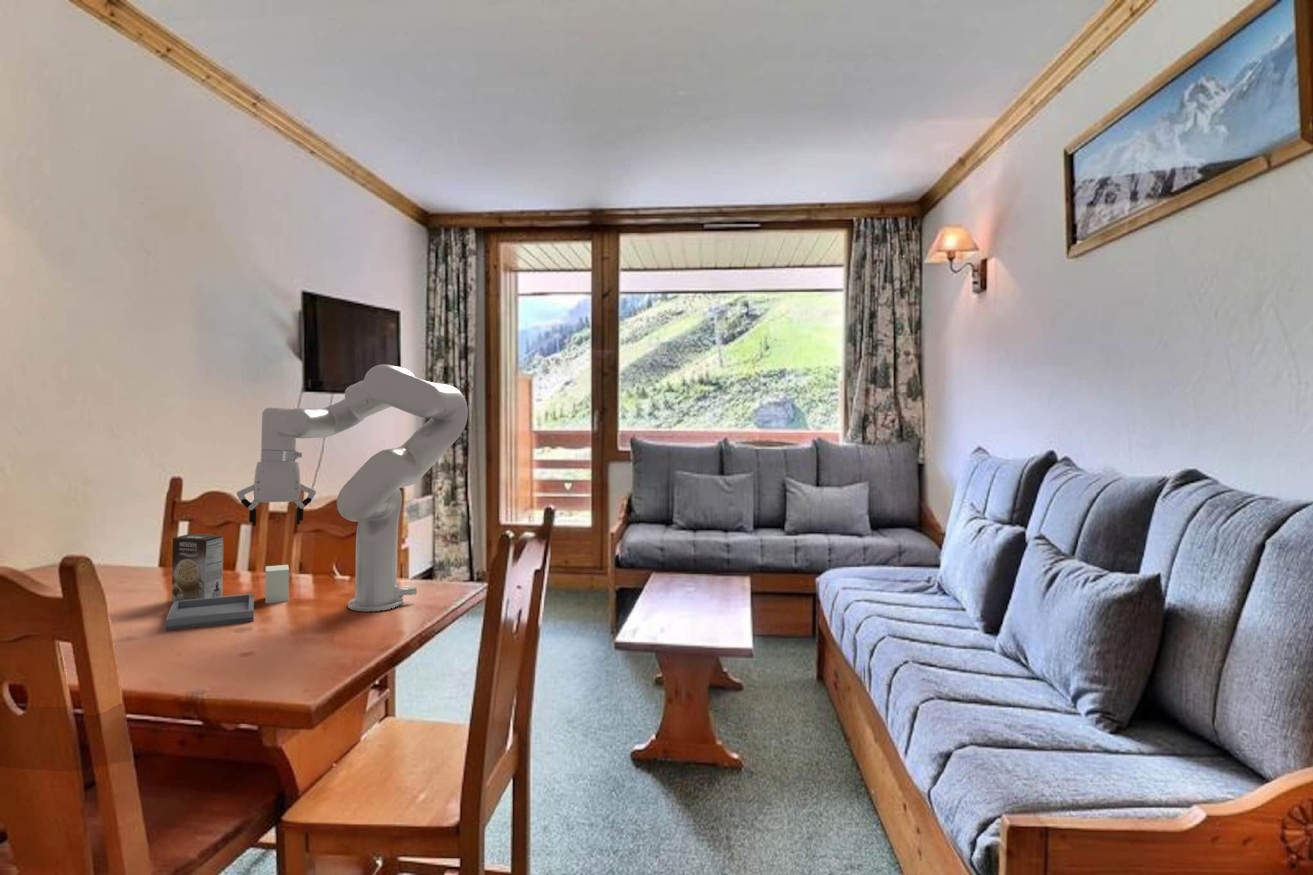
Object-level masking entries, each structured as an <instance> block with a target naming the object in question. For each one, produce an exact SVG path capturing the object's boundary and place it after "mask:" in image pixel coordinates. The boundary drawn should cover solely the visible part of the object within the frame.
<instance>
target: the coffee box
mask: <svg viewBox="0 0 1313 875" xmlns="http://www.w3.org/2000/svg"><path fill="white" fill-rule="evenodd" d="M224 541H225V540H224V535H220V534H219V535H218V534H206V533H205V534H204V533H194V532H193V533H189V534H184V535H178V536H175V537H173V538H172V558H171V559H172V560H171V561H172V563H171V564H172V568H171V569H172V570H171V571H172V572H171V573H172V574H171V603H173V602H174V601H180V600H190V599H201V598H211V597H222V596H223V582H224V581H223V580H224V577H223V576H224V544H225V543H224Z"/></svg>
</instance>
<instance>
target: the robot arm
mask: <svg viewBox="0 0 1313 875" xmlns="http://www.w3.org/2000/svg"><path fill="white" fill-rule="evenodd" d="M391 407H393V408H395V409H398V410H401V411H402V412H406V413H408V414H411V415H413V416H416V417H419V418H426V419H429V420H427V422H425V423H424V424H423V425H421V426H420V427H419V428H418V429H416V431H415V432H414V433H413V434H412V435H411V436H410V437H409V438H408V439H407V440H406V441H405V442H404V443H403V444H402V445H401V446H398V447H393V448H387V449H382V450H380V451H378V452H376V453H375V454H374V455H372V456H371V457H370V458H369V459H368V460H366V462H365V463H364V464H363V465H362V466H361V467H360V468H359V469H358V470H357V471H356V472H355V473H354V474H353V476H351V477H350V478H349V480H348V481H347V482H345V484H344V485H343V486H342V488H341V489H340V491H339V492H338V495H337V498H336V507H337V511H338V513H339V514H340V515H341V517H342V518H344V519H345V520H347V521H350V522H356V523H357V522H358V523H357V528H356V532H355V533H356V537H355V538H356V540H355V584H354V586H355V590H354V591H355V593H354V594H355V595H354V597H353V598H351V599H350V600H349V601H348V602H347V608H349V610H352V611H355V612H367V613H368V612H370V611H371V612H380V611H381V610H382V611H388V610H392V609H395V607H396V608H397V606H398V607H400V606H401V605H403V603H404V596H414V595H417V586H410V585H409V586H408V585H407V586H399V584H398V580H397V579H398V541H399V540H398V539H399V536H398V535H399V519H400V515H401V510H402V503H403V502H402V501H403V496H402V491H401V488H406V487H409V486H413V485H414V484H417V483H418V482H419V481H420V480H421V479H422V478H423V477H424V475H426V473H427V472H428V471H429V470H430V469H431V468H432V467H433V466H434V465H436V463H437V462H438V461H439V460H440V458H442V456H443V455H444V454H445V453H446V452H447V451H448V450H449V449H450V448H451V447H452V445H453V444H454V443H455V442H456V441H457V440H458V439H459V437H460V436H461V435H462V433H463V431H464V429H465V427H466V425H467V421H468V417H469V416H468V415H469V408H468V404H467V401H466V397H464V395H463V393H462V392H461V391H460V390H459V389H458V388H456V387H455V386H453V385H450V384H448V383H441V382H440V383H439V382H433V381H427V380H424V379H422V378H419V377H416V375H415V374H414V373H413V372H412V371H410V370H409V369H408V368H405V367H403V366H399V365H398V366H396V365H391V364H385V363H384V364H379V365H375V366H373V367H371V368H370V369H369V370H368V371H367V372H366V373H365V376H364V378H363V380H360V381H358V382H356V383H354V384H351V385H349V386H348V387H347V388H346V389H345V391H344V399H342V400H340V401H338V402H336V403H333V404H331V405H329V406H326V407H323V408H316V407H315V408H311V407H309V408H308V407H307V408H306V407H304V408H303V407H301V408H300V407H299V408H298V407H297V408H287V407H266V408H264V410H263V411H262V414H261V444H260V448H261V450H260V461H257V462H256V467H255V471H254V472H255V473H254V482H253V484H252V485H249V486H247V487H245V488H243V489H241V490H238V491H237V492H236V495H237V497H238V499H239V501H240V502H241V504H242V505H243V506H245V507H246V509H248V510H249V514H248V516H249V518H248V520H249V523H252V527H256V525H257V509H256V507H257V506H258V505H259V504H260V503H287V502H288V503H289V502H290V503H291V502H292V503H293V502H294V504H296V505H297V507H296V516H295V517H296V518H295V519H296V520H295V521H296V522H295V524H296V525H301V522H302V521H303V520H304V508H306V507H307V506H308V505H309V504H310V503H311V502H312V501H313V499H314V497H315V496H316V494H317V491H316V490H315V489H312V488H310V487H308V486H306V485H305V484H304V485H303V484H301V472H300V465H299V461H296V460H298V458H299V459H300V458H303V457H302V456H303V453H302V452H299V451H297V450H296V447H297V446H296V445H297V444H296V443H297V441H296V439H318V438H319V439H321V438H323V439H324V438H328V437H332V436H334V435H337V434H339V433H342V432H344V431H346V430H348V429H349V430H350V429H351V428H353V427H355V426H357V425H359V423H361V422H362V421H364V420H365V419H366V418H367V417H369V416H372V415H374V414H377V413H379V412H382V411H384V410H387V409H389V408H391ZM302 491H303V492H305V493H307V494H308V495H307V497H306V498H305V499H304V500H301V499H300V498H301V492H302ZM252 492H253V498H254V499H253V500H252V501H249V500H248V499H247V498H246V496H245V495H247V494H249V493H252ZM400 604H401V605H400ZM399 605H400V606H399ZM391 608H392V609H391ZM382 611H381V612H382Z"/></svg>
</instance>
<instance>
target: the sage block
mask: <svg viewBox="0 0 1313 875" xmlns="http://www.w3.org/2000/svg"><path fill="white" fill-rule="evenodd" d="M264 587H265V592H264V593H265V595H264V596H265V597H264V598H265V604H273V603H274V604H275V603H285V602H289V601H290V599H289V598H290V568H289V564H282V565H280V564H279V565H266V566H265V586H264Z"/></svg>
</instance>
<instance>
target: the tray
mask: <svg viewBox="0 0 1313 875" xmlns="http://www.w3.org/2000/svg"><path fill="white" fill-rule="evenodd" d="M254 606H255V592H254V593H244V594H243V593H242V594H235V595H233V594H232V595H224V596H223V595H222V597H211V598H201V599H190V600H180V601H174V602H172V604H171V607H170V608H169V611H168V613H167V616H166V619H165V632H172V631H179V630H180V631H181V630H188V629H189V630H190V629H197V628H208V627H217V626H225V625H233V624H241V623H240V622H243V623H251V621H252V622H254V614H255V613H254V612H255V610H254V609H255V607H254ZM224 624H225V625H224Z"/></svg>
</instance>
